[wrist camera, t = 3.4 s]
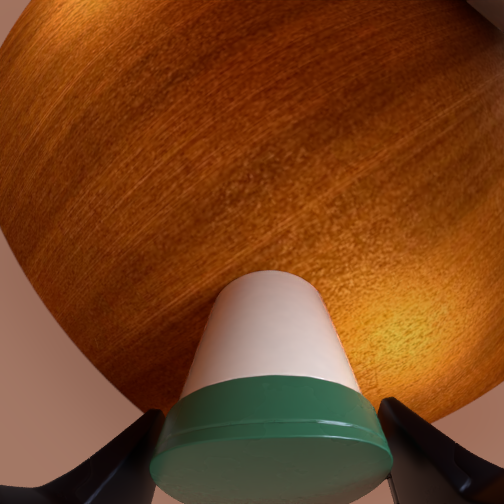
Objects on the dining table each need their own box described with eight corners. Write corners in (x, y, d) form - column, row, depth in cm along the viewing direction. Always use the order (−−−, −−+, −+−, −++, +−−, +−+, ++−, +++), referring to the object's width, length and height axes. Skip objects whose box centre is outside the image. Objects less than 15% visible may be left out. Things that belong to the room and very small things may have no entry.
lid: (337, 481, 8) (343, 515, 6) (176, 473, 8) (167, 508, 6) (410, 370, 6) (439, 417, 4) (151, 356, 6) (121, 409, 4)
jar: (314, 372, 15) (339, 505, 6) (209, 363, 15) (173, 498, 6) (338, 276, 13) (422, 411, 5) (212, 263, 13) (139, 402, 5)
